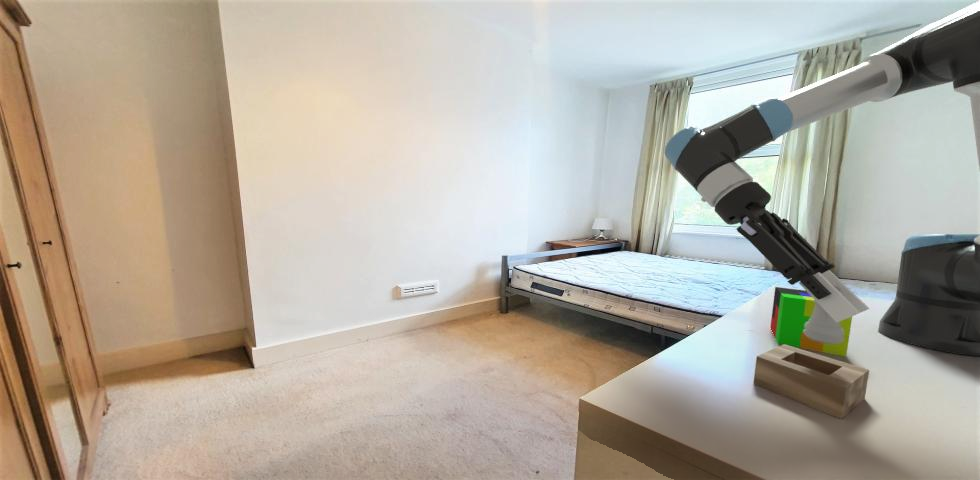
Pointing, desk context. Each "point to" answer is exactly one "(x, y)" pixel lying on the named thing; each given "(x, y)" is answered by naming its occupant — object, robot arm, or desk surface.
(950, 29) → the robot arm
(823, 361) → the socket block
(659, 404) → the desk surface
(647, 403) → the desk surface
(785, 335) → the puzzle toy
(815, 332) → the rook chess piece
